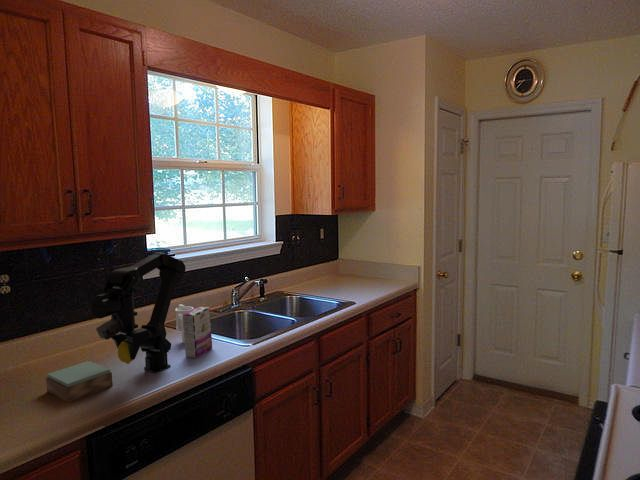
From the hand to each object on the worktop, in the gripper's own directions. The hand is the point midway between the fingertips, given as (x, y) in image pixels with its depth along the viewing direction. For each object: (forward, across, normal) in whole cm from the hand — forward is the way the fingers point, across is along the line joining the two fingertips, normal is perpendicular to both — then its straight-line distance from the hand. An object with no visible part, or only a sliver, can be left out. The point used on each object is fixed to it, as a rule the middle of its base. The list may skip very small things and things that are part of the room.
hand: (127, 357), depth 149 cm
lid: (+4, -9, -11) cm, 15 cm away
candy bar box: (+9, -4, +31) cm, 33 cm away
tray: (+9, -10, -11) cm, 17 cm away
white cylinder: (+9, -18, +36) cm, 41 cm away
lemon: (+2, 0, 0) cm, 2 cm away
